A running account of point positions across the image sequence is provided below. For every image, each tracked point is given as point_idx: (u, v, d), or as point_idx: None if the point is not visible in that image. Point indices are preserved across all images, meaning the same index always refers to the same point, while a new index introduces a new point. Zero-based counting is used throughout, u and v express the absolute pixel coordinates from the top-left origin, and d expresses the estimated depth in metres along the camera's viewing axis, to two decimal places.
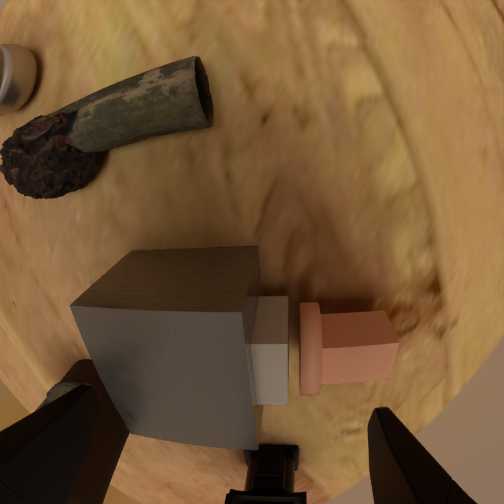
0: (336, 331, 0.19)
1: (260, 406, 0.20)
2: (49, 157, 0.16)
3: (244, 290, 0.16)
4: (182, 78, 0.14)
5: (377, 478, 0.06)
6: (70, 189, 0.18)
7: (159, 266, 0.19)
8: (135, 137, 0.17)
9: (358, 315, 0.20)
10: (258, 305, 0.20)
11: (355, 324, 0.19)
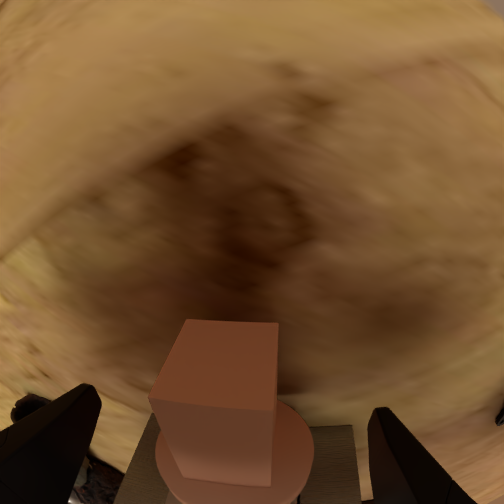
0: None
1: None
2: (88, 499, 0.18)
3: (117, 497, 0.10)
4: None
5: (377, 478, 0.06)
6: (115, 496, 0.19)
7: None
8: None
9: None
10: None
11: None
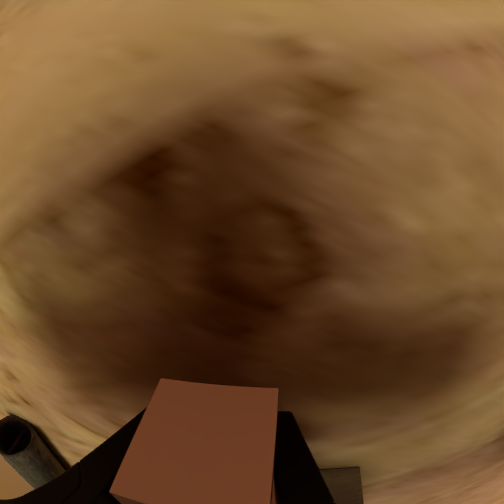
0: None
1: None
2: None
3: None
4: None
5: (274, 484, 0.06)
6: None
7: None
8: None
9: None
10: None
11: None
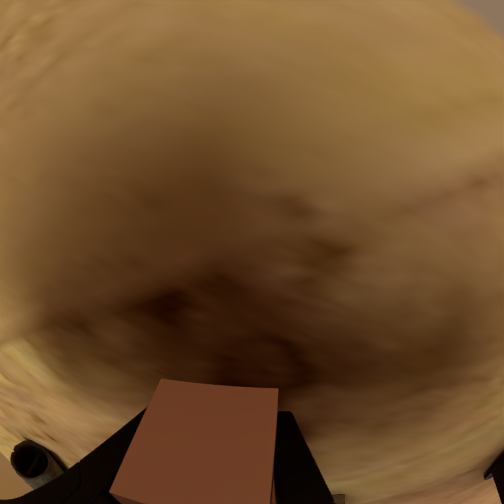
0: None
1: None
2: None
3: None
4: (19, 474, 0.14)
5: (274, 484, 0.06)
6: None
7: None
8: None
9: None
10: None
11: None
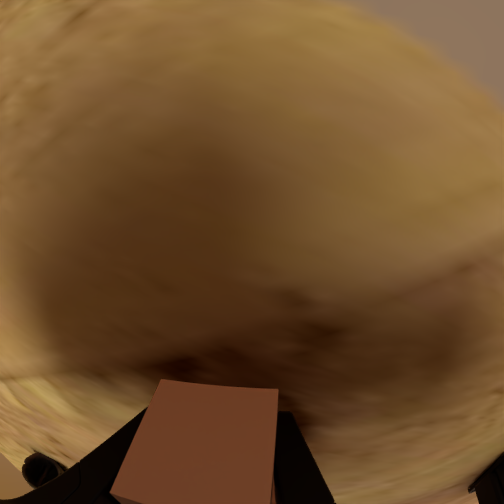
0: None
1: None
2: None
3: None
4: (31, 485, 0.15)
5: (274, 484, 0.06)
6: None
7: None
8: None
9: None
10: None
11: None
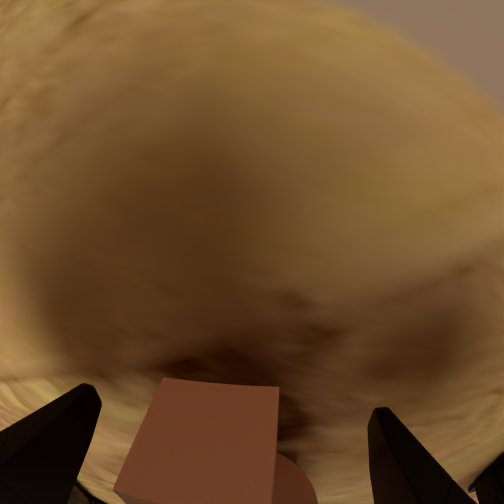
0: None
1: None
2: None
3: None
4: None
5: (377, 478, 0.06)
6: None
7: None
8: None
9: None
10: None
11: None
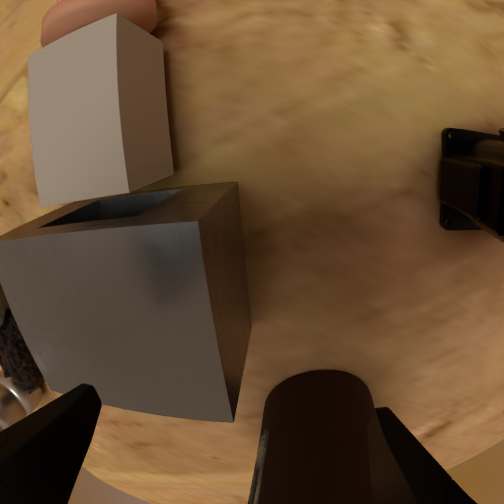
0: None
1: (177, 204, 0.13)
2: (3, 349, 0.21)
3: (13, 231, 0.13)
4: None
5: (377, 478, 0.06)
6: (24, 343, 0.22)
7: None
8: None
9: None
10: None
11: None
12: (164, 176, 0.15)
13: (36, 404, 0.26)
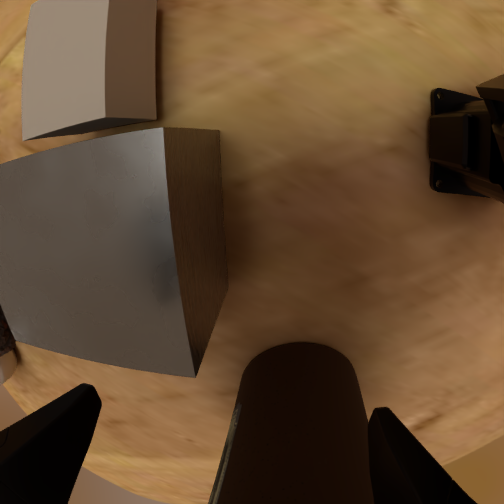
0: None
1: None
2: None
3: None
4: None
5: (377, 478, 0.06)
6: None
7: None
8: None
9: None
10: None
11: None
12: (145, 117, 0.14)
13: (10, 373, 0.25)
